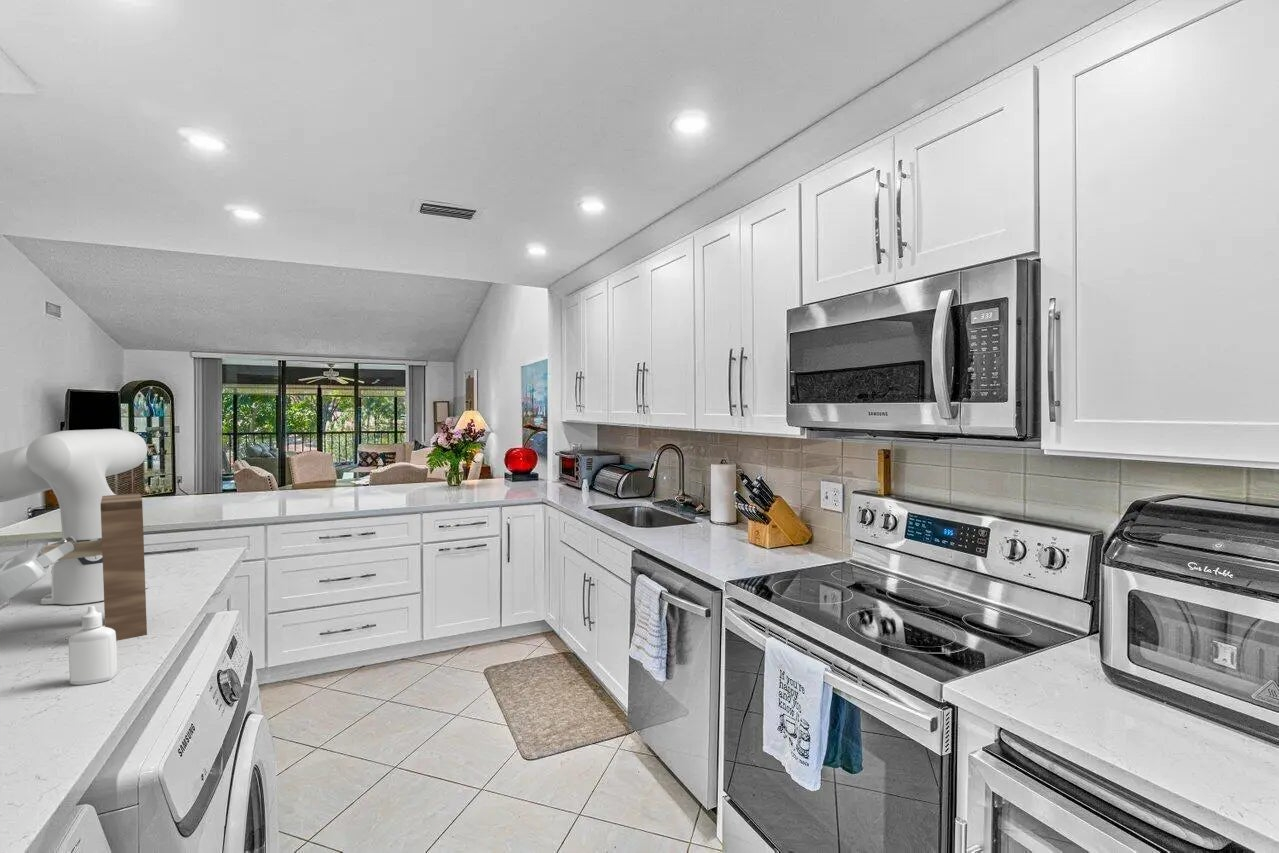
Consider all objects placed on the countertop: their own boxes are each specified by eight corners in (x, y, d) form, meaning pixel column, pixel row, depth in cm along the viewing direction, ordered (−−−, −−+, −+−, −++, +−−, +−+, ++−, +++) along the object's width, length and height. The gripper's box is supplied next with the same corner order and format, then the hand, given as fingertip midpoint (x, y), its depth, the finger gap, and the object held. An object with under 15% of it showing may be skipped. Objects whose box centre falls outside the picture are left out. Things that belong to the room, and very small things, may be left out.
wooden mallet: (46, 556, 116) (46, 535, 116) (141, 545, 125) (140, 526, 125) (42, 564, 110) (41, 542, 110) (142, 552, 119) (141, 531, 119)
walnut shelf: (106, 622, 124) (102, 496, 124) (144, 616, 128) (140, 493, 127) (105, 642, 114) (100, 503, 113) (146, 634, 118) (142, 500, 117)
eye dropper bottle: (93, 687, 95) (90, 611, 95) (65, 684, 96) (62, 609, 96) (122, 675, 99) (119, 602, 99) (94, 672, 100) (92, 600, 100)
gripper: (4, 590, 117) (87, 545, 125) (-14, 618, 102) (82, 564, 109) (-21, 565, 115) (64, 521, 122) (-43, 589, 99) (56, 536, 107)
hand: (73, 541), depth 116 cm, fingers open, 5 cm apart
